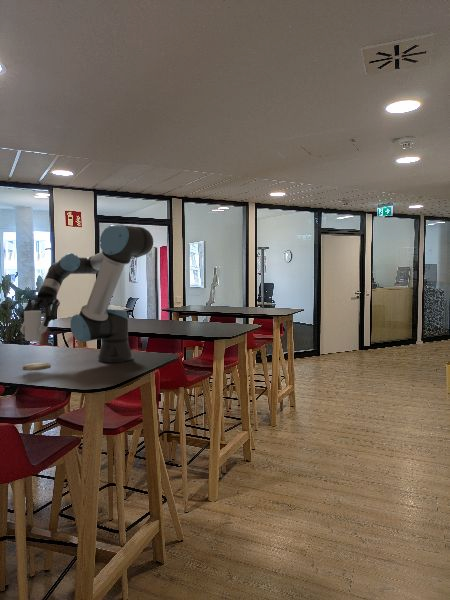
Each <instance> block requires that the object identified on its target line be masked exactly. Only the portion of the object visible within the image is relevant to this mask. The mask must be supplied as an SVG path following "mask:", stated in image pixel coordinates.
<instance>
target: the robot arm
mask: <svg viewBox="0 0 450 600" xmlns="http://www.w3.org/2000/svg"><path fill="white" fill-rule="evenodd" d="M99 238H100V239H99V242H100V244H99V247H100V249H101V251H100V252H99V253H96V254H94V255H91V256H89V257H79V256H78V255H77V254H74V253H67V254H65V255H64V256H62V257H61V258H60V259H59V260H58V261H56V262H53V263H51V265H50V267H49V268H48V269H47V273H46V275H45V277H44V280H43V282H42V284H41V286H40V288H39V291H38V292H37V297H36V298H35V299H33V300H32V299H28V302H27V304H26V305H25V307H24V308H23V310H22V312H21V313H20V315H19V317H20V319H22V321H21V323H20V324H21V327H20V328H19V330H20V333H22V334H23V335H25V326H24V311H41V309H44V311H45V312H44V313H46V316H45V317H46V318H44V317H42V318H43V319H42V320H41V325H40V328H39V331H40V333H41V335H44V333H45V332H44V330H45V327H47V326H48V327H49V324H50V322H51V321H56V317H57V312H58V309H59V306H60V305H61V302H60V301H59V299H57V295H58V293H59V291H60V288H61V286H62V283H63V281H64V280H66V278H68V277H69V276H70V275H83V274H84V275H87V274H88V275H91V274H92V275H96V278H95V282H94V285H93V287H92V290H91V291H90V295H89V297H88V301H87V304H86V305H83V306H82V307H81V309H80V311H79V313H77V314H74V315H73V316H72V317H71V319H70V324H69V325H70V331H71V334H72V336H73V337H74V338H75V339H76V340H77V341H78V342H90V341H95V340H101V345H100V349H99V354H98V357H97V359H98V361H99V362H101V363H113V364H114V363H123V362H128V361H132V360H133V353H132V351H131V350H132V349H131V347H130V343H129V318H128V312H127V311H126V310H123V309H111V308H110V309H109V307H110V304H111V301H112V298H113V296H114V293H115V290H116V288H117V286H118V283H119V280H120V278H121V276H122V272H123V271H124V267H125V265H127V264H129V263H130V262H131V260H132V258H134V259H135V258H140V257H142V256H146V255H147V254H149V253H150V252H151V250H152V249H153V247H154V238H153V235H152V233H151V232H150V231H149V230H147V229H146V228H145V227H141V226H133V225H132V226H131V225H124V224H111V225H109V226H106V227H105V228H104V229H103V231H102V232H101V235H100V237H99ZM51 306H52V309H51ZM48 327H47V328H48Z"/></svg>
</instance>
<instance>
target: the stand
mask: <svg viewBox="0 0 450 600" xmlns="http://www.w3.org/2000/svg"><path fill="white" fill-rule="evenodd" d="M49 368H51V363H49V362H33V363H27V364H24V365H23V366H22V369H23V370H24V369H25V370H26V371H39V370H45V369H49Z"/></svg>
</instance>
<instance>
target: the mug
mask: <svg viewBox="0 0 450 600" xmlns="http://www.w3.org/2000/svg"><path fill="white" fill-rule="evenodd" d="M45 316H46V312H44V313H42V310H39V311H24V326H25V334H24V341H28V342H29V341H31V342H33V341H34V342H35V341H41V340H42V334H41V333H40V331H39V328H40V325H41V323H42V318H46V317H45ZM48 327H49V325H48V326H47V327H45V330H44V332H43V333H45V332H47V330H48Z"/></svg>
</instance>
